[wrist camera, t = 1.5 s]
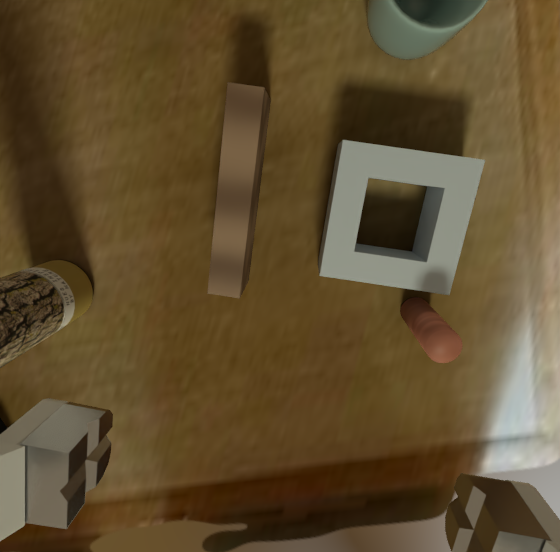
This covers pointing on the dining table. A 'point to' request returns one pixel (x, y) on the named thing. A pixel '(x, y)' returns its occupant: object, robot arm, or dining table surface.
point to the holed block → (432, 224)
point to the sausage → (431, 330)
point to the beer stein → (2, 426)
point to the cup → (418, 24)
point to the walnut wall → (238, 188)
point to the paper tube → (40, 304)
